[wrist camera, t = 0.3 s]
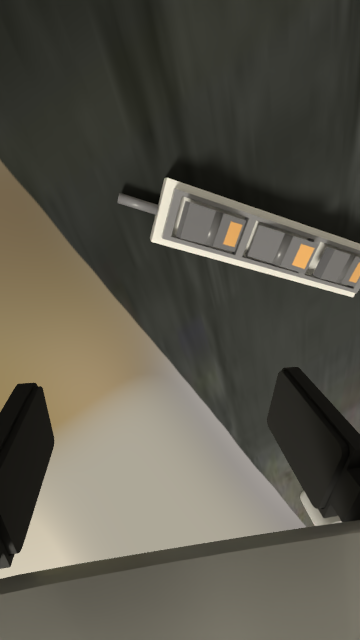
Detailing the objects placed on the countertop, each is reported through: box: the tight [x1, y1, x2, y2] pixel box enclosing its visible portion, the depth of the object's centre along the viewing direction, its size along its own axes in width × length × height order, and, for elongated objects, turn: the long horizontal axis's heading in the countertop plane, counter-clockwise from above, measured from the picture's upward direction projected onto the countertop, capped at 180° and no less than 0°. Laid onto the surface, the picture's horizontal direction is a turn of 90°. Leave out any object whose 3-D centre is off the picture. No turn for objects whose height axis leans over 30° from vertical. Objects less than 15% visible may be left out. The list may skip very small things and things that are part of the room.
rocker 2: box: [246, 225, 319, 274], centre depth 36 cm, size 4×8×2 cm, turn 74°
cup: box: [300, 490, 342, 526], centre depth 67 cm, size 7×10×9 cm
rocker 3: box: [313, 247, 360, 287], centre depth 38 cm, size 4×8×2 cm, turn 73°
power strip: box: [118, 178, 360, 297], centre depth 37 cm, size 8×38×4 cm, turn 74°
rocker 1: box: [176, 201, 246, 252], centre depth 33 cm, size 4×8×2 cm, turn 73°
